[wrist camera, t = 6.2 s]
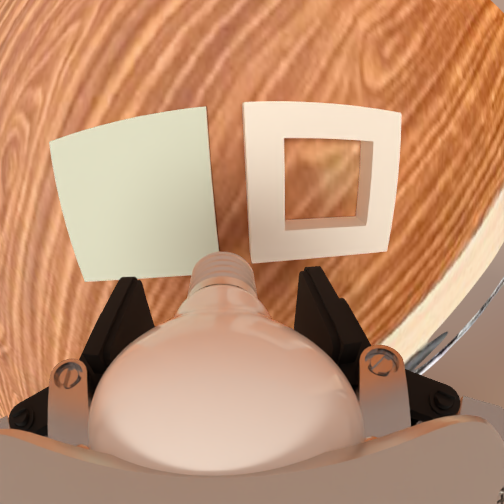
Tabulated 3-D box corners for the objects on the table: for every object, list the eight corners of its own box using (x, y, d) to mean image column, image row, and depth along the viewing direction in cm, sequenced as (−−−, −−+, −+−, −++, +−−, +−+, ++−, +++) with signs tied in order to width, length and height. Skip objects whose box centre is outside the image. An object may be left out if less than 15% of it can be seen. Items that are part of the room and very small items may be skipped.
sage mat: (221, 270, 28) (221, 272, 27) (86, 279, 27) (85, 281, 26) (206, 106, 20) (205, 106, 20) (51, 141, 19) (49, 141, 19)
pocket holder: (376, 240, 28) (386, 251, 26) (249, 250, 27) (251, 263, 25) (387, 111, 21) (401, 113, 19) (241, 104, 20) (243, 102, 18)
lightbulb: (157, 318, 13) (120, 537, 3) (151, 197, 10) (-14, 496, 1) (278, 326, 14) (327, 537, 4) (305, 211, 11) (478, 486, 1)
